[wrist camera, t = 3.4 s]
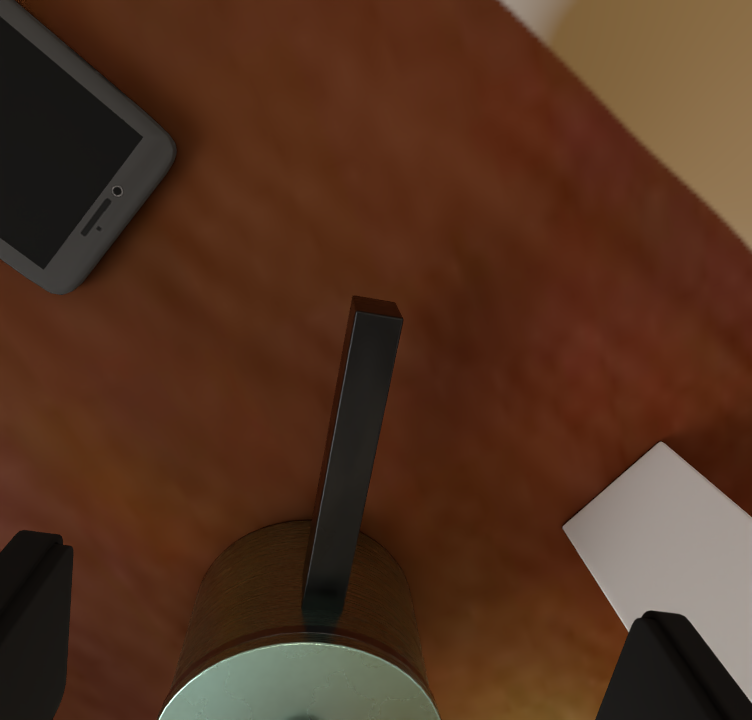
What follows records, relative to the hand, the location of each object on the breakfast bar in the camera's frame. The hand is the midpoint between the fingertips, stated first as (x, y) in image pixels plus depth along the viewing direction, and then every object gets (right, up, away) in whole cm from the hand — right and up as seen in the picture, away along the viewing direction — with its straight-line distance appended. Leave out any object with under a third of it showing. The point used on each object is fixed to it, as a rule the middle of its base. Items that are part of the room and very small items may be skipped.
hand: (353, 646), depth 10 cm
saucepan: (-2, -2, +17) cm, 17 cm away
